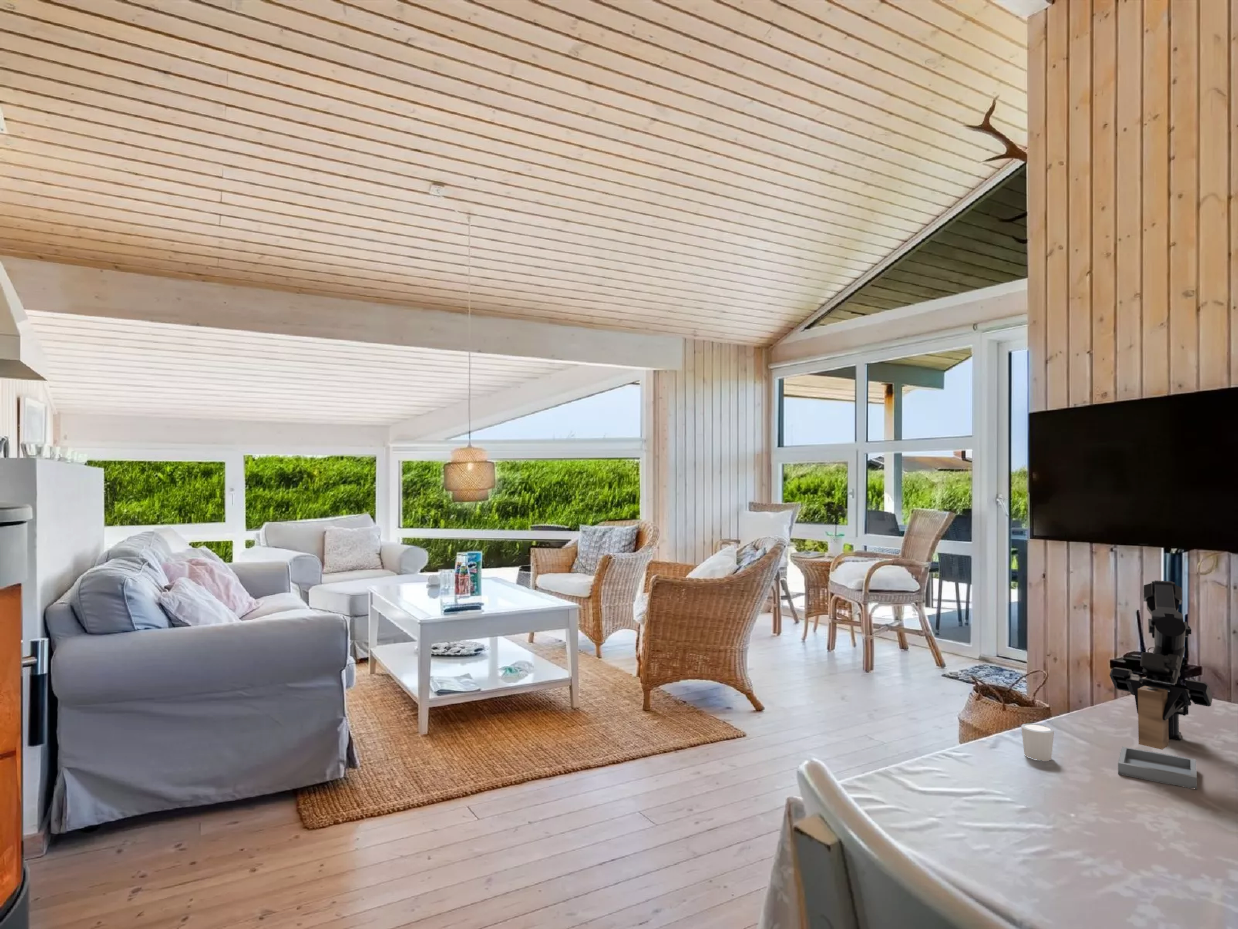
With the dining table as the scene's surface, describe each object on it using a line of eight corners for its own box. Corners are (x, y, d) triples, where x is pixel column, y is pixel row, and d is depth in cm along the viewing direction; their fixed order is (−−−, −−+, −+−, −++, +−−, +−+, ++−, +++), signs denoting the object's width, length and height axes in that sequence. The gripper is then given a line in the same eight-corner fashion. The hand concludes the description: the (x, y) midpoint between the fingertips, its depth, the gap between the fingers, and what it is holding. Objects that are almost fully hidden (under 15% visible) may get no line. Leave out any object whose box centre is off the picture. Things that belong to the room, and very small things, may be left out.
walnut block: (1145, 740, 172) (1144, 685, 173) (1168, 745, 169) (1167, 689, 169) (1138, 744, 169) (1137, 688, 170) (1162, 749, 166) (1161, 692, 166)
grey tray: (1122, 756, 178) (1122, 746, 178) (1196, 770, 170) (1195, 759, 170) (1118, 774, 167) (1117, 762, 167) (1196, 789, 159) (1196, 777, 159)
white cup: (1046, 752, 181) (1045, 723, 181) (1060, 763, 174) (1059, 732, 174) (1016, 751, 181) (1016, 722, 182) (1029, 761, 174) (1029, 731, 175)
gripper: (1111, 633, 180) (1094, 686, 172) (1207, 646, 165) (1193, 704, 158) (1124, 661, 184) (1108, 714, 177) (1218, 676, 170) (1205, 735, 162)
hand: (1151, 716), depth 168 cm, fingers closed on walnut block, 4 cm apart
